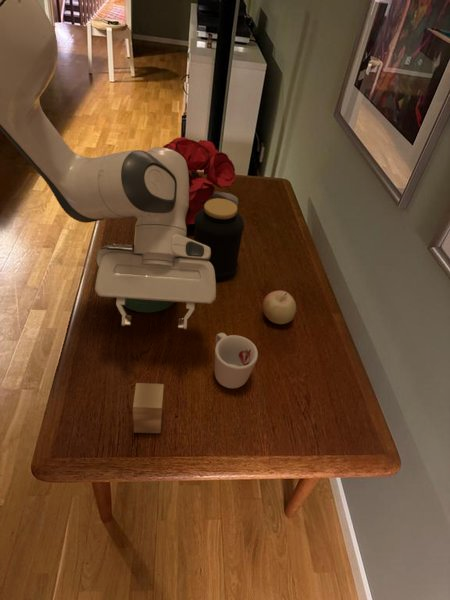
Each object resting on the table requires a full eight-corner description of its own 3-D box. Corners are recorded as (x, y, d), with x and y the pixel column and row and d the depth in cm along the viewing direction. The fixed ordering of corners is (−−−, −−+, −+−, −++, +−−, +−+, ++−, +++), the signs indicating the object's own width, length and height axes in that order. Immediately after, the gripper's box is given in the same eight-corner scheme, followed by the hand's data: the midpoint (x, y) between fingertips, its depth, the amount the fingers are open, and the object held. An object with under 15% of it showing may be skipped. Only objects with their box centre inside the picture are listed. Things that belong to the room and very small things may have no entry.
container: (179, 265, 102) (184, 202, 90) (212, 248, 109) (220, 188, 97) (214, 290, 97) (224, 227, 85) (245, 270, 104) (258, 209, 92)
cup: (197, 357, 81) (201, 330, 76) (232, 346, 85) (238, 320, 79) (221, 399, 75) (227, 373, 69) (258, 386, 78) (266, 360, 73)
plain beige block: (133, 432, 68) (132, 406, 62) (136, 409, 71) (136, 382, 65) (160, 433, 68) (161, 407, 63) (162, 410, 71) (163, 383, 66)
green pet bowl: (119, 318, 86) (117, 298, 82) (110, 274, 96) (108, 254, 92) (186, 309, 91) (188, 289, 87) (171, 268, 101) (172, 249, 97)
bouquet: (197, 211, 135) (120, 180, 113) (238, 152, 125) (163, 105, 104) (226, 252, 123) (146, 225, 101) (274, 189, 113) (198, 145, 92)
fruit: (291, 309, 95) (300, 284, 90) (291, 332, 90) (301, 306, 85) (260, 304, 95) (267, 278, 90) (258, 326, 90) (265, 300, 85)
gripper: (94, 238, 65) (87, 324, 64) (220, 249, 67) (214, 331, 67) (101, 245, 71) (95, 323, 70) (216, 254, 73) (211, 329, 73)
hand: (154, 327), depth 68 cm, fingers open, 8 cm apart
